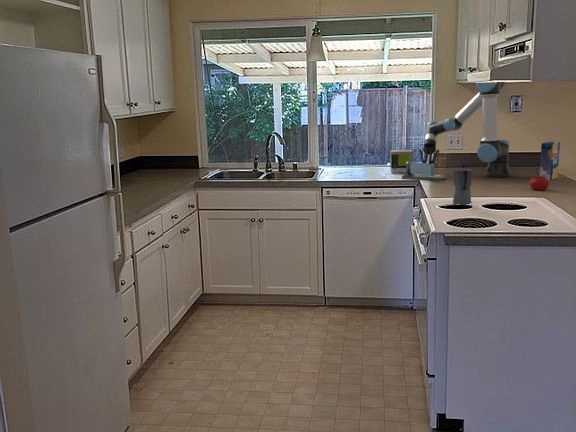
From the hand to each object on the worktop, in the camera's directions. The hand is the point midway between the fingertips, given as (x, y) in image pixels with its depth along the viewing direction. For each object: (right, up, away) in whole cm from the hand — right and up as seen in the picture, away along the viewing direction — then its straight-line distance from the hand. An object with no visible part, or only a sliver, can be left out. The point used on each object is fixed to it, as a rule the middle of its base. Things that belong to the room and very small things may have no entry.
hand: (426, 171), depth 382 cm
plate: (-1, -4, +3) cm, 5 cm away
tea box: (-10, +2, +31) cm, 33 cm away
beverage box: (+73, -5, -8) cm, 74 cm away
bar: (-4, -1, +1) cm, 5 cm away
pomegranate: (+52, -13, -45) cm, 70 cm away
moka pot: (-1, -23, -83) cm, 86 cm away
